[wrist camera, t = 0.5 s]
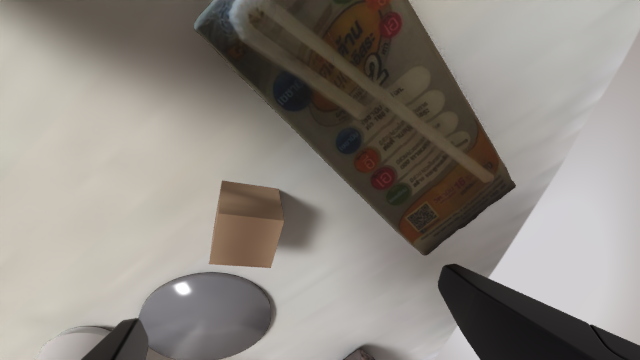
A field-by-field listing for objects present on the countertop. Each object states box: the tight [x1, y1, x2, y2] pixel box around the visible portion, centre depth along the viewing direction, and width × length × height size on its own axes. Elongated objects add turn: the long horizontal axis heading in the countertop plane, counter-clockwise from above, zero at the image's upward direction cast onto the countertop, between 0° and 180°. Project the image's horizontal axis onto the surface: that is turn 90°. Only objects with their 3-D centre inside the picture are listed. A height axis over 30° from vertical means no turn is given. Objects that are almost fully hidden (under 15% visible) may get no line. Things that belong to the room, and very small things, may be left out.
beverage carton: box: [194, 0, 516, 256], centre depth 18 cm, size 8×19×7 cm, turn 41°
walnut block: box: [209, 181, 284, 268], centre depth 22 cm, size 4×4×4 cm
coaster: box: [138, 273, 271, 360], centre depth 28 cm, size 11×11×1 cm
